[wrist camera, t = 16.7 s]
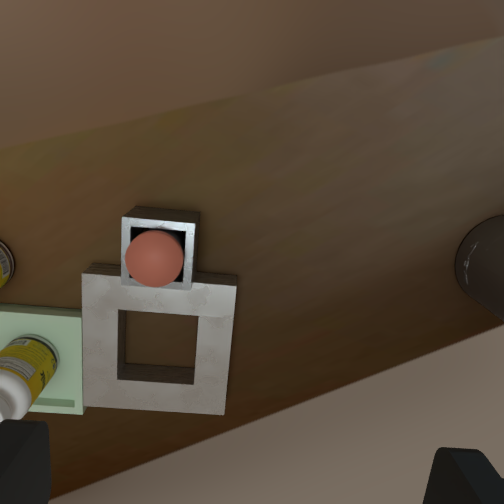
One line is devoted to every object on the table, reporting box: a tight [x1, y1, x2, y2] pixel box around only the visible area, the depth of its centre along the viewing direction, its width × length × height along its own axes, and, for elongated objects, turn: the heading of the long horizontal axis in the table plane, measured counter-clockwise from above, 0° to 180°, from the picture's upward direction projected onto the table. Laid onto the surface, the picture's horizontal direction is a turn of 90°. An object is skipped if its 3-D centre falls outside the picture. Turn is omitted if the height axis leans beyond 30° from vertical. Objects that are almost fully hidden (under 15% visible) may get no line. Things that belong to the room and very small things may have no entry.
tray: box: [0, 303, 87, 415], centre depth 43 cm, size 11×11×2 cm
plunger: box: [125, 228, 185, 287], centre depth 37 cm, size 5×5×6 cm
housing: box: [82, 206, 237, 415], centre depth 40 cm, size 14×20×5 cm
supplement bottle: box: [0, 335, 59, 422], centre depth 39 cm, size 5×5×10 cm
